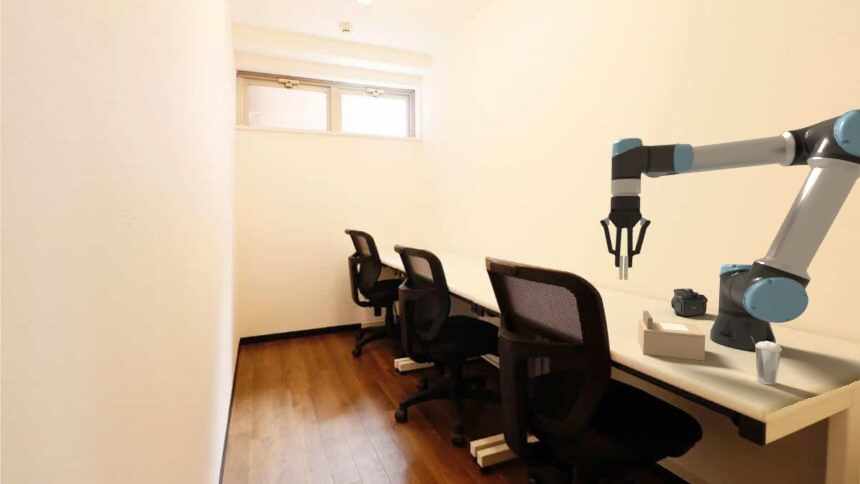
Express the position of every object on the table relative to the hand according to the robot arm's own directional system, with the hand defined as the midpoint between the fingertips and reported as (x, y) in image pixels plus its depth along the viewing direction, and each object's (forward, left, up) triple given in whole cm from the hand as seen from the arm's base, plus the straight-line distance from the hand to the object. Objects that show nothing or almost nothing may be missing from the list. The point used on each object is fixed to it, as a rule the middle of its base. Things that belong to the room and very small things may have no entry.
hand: (623, 278), depth 114 cm
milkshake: (-28, +16, -20) cm, 38 cm away
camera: (-26, -48, -20) cm, 58 cm away
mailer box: (-12, 0, -19) cm, 23 cm away
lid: (-12, 0, -13) cm, 18 cm away
